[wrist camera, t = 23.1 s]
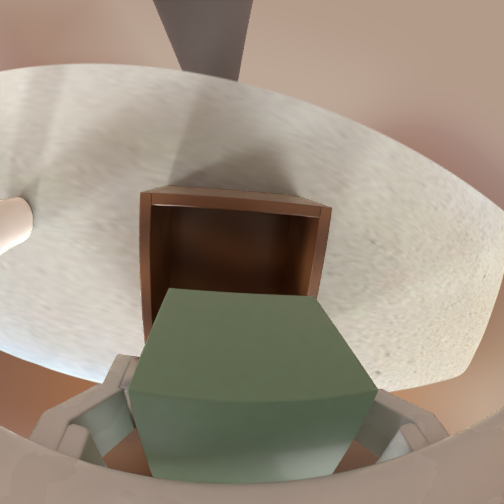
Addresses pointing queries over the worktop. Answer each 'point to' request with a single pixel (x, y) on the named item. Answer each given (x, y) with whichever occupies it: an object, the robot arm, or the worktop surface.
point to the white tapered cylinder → (14, 222)
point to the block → (246, 389)
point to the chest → (228, 244)
